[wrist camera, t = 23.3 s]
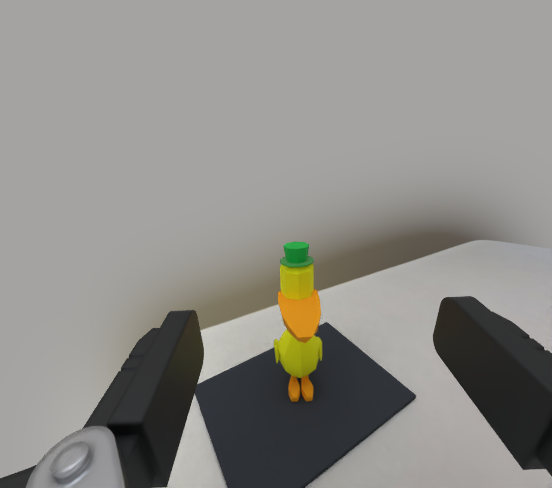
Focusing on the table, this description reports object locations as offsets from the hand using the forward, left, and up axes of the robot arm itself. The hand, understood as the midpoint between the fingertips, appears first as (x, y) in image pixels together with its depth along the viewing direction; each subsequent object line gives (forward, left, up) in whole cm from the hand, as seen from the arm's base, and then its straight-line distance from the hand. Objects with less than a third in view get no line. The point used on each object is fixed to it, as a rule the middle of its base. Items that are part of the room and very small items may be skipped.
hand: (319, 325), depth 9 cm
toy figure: (+4, +6, -13) cm, 15 cm away
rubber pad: (+4, +7, -13) cm, 15 cm away
